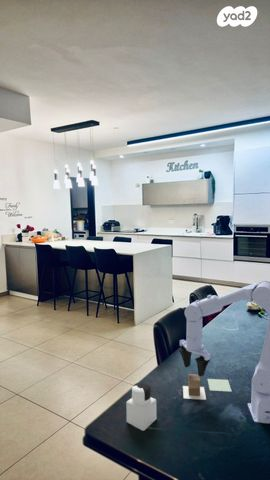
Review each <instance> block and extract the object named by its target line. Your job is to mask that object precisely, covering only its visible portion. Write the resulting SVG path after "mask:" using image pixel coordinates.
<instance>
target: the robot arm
mask: <svg viewBox="0 0 270 480" xmlns="http://www.w3.org/2000/svg"><path fill="white" fill-rule="evenodd" d="M240 301H246V302H249V303H251V304H252V303H253V302H254V303H255V304H256V305H258V307H260V308H262V309H263V310H264V311H265V312H266V313H267V314H268V315H269V319H268V323H267V327H266V331H265V332H266V333H265V337H264V341H263V345H262V349H261V353H260V358H259V362H258V363H257V364H256V365H255V367H254V373H253V376H252V378H251V396H250V397H251V398H250V399H251V400H250V401H251V402H248V403H247V407H248V410H249V412H250V414H251V417H252V420H253V421H254V423H261V424H270V281H268V280H262V281H260V282H255V283H251V284H248V285H246V286H243V287H240V288H239V289H236V290H233V291H231V292H229V293H226V294H224V295H221V296H218V295H215V294H214V295H212V294H208V295H207V296H206V297H204V298H202V299H200V300H199V299H197V300H195V301H193V302H191V303H190V304H189V305H187V306H185V307H186V308H185V309H184V312H183V313H184V316H185V319H186V334H185V335H186V339H180V340H179V346H180V348H178V351H179V354H180V356H181V357H182V361H183V365H184V368H189V367H190V366H191V362H192V361H191V359H192V358H191V357H192V353H193V354H196V355H197V356H199V357H195V362H196V366H197V374H198V375H199V376H200V378H201V377H204V376H205V372H206V369H207V366H208V364H209V363H210V362H211V359H212V357H211V353H209V352H208V351H207V349H205V345H204V344H203V317H208V316H210V315H213V314H215V313H218V312H221V311H222V310H223V307H224V306H227V305H230V304H234V303H238V302H240Z"/></svg>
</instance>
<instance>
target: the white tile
mask: <svg viewBox="0 0 270 480" xmlns="http://www.w3.org/2000/svg"><path fill="white" fill-rule="evenodd" d="M182 392H183V395H182V396H183V399H186V400H187V399H188V400H189V399H191V400H204V401H205V400H207V396H206V391H205V387H204V386H200V396H192V395H189V391H188V385H182Z"/></svg>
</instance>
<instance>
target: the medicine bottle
mask: <svg viewBox="0 0 270 480" xmlns="http://www.w3.org/2000/svg"><path fill="white" fill-rule="evenodd" d="M151 389H152V387H151V386H150V385H149V384H148V383H145V382H136V383H134V384H133V386H132V387H131V398H130V399H128V400H127V401H126V404H125V405H126V409H125V410H126V413H125V414H126V423H128V424H130V425H131V426H133V427H134V428H136V429H139V430H141V432H144V431H146V429H148V428H149V427H150V426H151V425H152V424H153V423H154V422H155V421H156V420H157V399H156V398H153V397H151V396H152V393H151V391H152V390H151Z"/></svg>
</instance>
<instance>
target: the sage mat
mask: <svg viewBox="0 0 270 480" xmlns="http://www.w3.org/2000/svg"><path fill="white" fill-rule="evenodd" d="M207 383H208V388H209V391H212V392H213V391H214V392H215V391H216V392H233V391H232V389H231V385H230V381H229V379H221V378H220V379H217V378H216V379H215V378H207Z"/></svg>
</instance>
